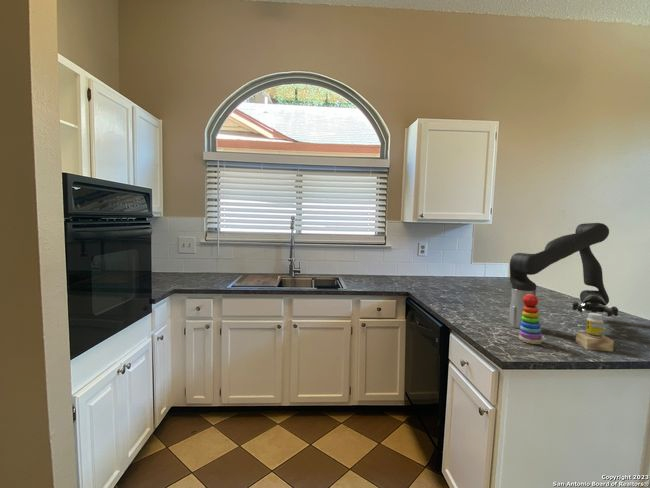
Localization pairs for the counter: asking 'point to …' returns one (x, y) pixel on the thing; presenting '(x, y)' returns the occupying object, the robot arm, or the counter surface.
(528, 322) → the stacking toy
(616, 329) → the counter surface
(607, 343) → the oak block
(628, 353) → the counter surface
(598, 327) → the supplement bottle
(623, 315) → the counter surface
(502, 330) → the counter surface
